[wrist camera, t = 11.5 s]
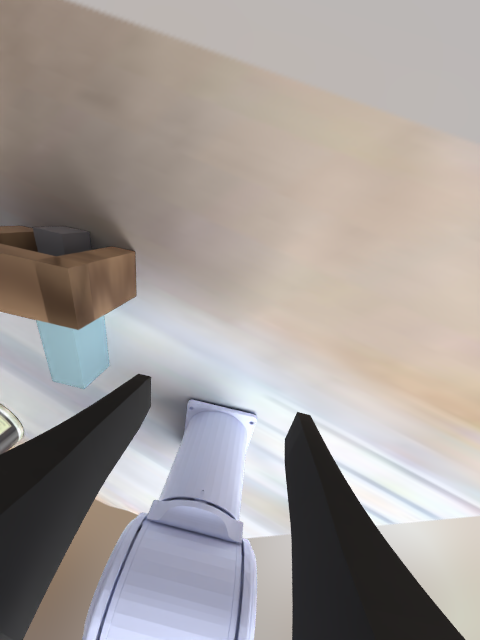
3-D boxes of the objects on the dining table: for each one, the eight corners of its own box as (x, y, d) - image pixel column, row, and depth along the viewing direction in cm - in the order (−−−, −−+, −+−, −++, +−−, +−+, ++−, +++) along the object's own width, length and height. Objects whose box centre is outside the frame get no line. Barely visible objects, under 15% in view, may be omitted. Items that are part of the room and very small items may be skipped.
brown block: (136, 296, 19) (78, 330, 13) (32, 272, 20) (-69, 295, 14) (135, 251, 18) (67, 268, 12) (21, 225, 18) (-102, 229, 12)
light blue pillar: (109, 365, 24) (84, 389, 20) (82, 359, 24) (52, 381, 20) (95, 233, 17) (55, 236, 14) (57, 224, 17) (10, 226, 14)
